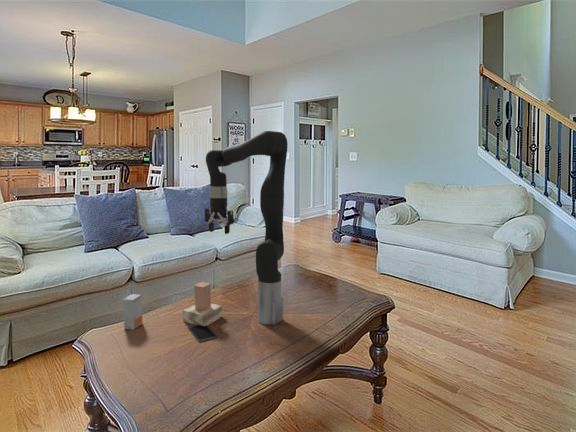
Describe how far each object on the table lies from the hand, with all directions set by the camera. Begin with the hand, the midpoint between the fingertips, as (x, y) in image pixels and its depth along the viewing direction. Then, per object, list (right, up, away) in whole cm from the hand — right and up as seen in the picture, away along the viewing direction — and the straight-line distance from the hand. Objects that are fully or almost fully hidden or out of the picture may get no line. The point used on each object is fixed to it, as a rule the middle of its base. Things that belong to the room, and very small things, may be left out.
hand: (219, 232), depth 168 cm
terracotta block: (-4, -30, -15) cm, 34 cm away
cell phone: (-2, -37, -26) cm, 45 cm away
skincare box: (-29, -36, -21) cm, 51 cm away
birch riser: (-4, -35, -14) cm, 38 cm away
